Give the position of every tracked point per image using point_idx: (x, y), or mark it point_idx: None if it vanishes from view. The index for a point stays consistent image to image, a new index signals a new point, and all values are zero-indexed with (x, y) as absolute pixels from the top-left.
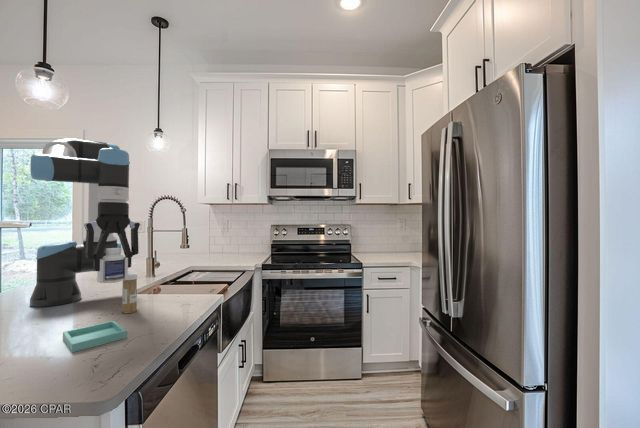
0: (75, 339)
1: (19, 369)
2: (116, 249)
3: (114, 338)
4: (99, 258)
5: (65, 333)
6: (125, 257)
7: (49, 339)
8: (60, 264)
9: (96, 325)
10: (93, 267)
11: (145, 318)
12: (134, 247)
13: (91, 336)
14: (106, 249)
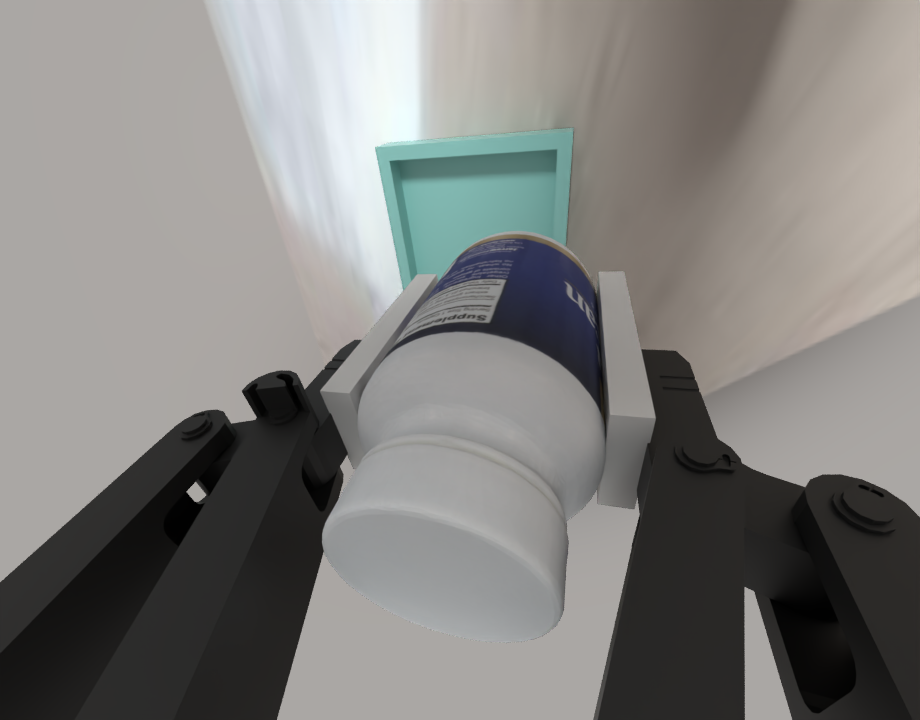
0: (422, 216)
1: (327, 316)
2: (466, 627)
3: None
4: (336, 481)
5: (385, 180)
6: (623, 477)
7: (345, 101)
8: None
9: (492, 152)
10: (334, 365)
11: (763, 84)
12: (794, 706)
13: (468, 226)
14: (346, 575)
